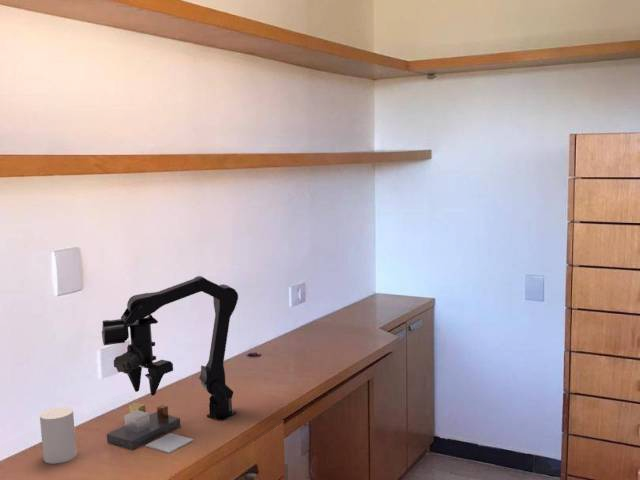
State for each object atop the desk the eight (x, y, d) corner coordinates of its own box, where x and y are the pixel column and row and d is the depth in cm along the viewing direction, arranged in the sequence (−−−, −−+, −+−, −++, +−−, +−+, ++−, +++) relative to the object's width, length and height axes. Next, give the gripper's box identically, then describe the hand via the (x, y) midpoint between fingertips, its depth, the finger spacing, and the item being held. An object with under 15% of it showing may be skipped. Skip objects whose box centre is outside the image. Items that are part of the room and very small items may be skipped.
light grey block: (137, 423, 188) (136, 409, 188) (149, 426, 186) (148, 413, 185) (125, 429, 185) (124, 415, 184) (137, 432, 182) (136, 418, 181)
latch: (136, 415, 193) (135, 402, 193) (145, 418, 191) (144, 404, 191) (130, 418, 191) (129, 405, 191) (139, 421, 189) (138, 407, 189)
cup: (80, 449, 179) (77, 406, 177) (70, 462, 170) (66, 418, 169) (50, 450, 178) (46, 407, 177) (38, 464, 170) (34, 419, 169)
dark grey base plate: (156, 419, 197) (155, 402, 196) (180, 426, 191) (179, 408, 191) (107, 442, 182) (105, 423, 181) (131, 450, 177) (130, 430, 176)
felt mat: (170, 434, 186) (170, 432, 186) (193, 440, 181) (193, 439, 181) (145, 446, 179) (145, 444, 179) (169, 453, 174) (169, 452, 174)
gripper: (96, 343, 185) (100, 396, 187) (141, 351, 175) (145, 408, 176) (127, 333, 194) (131, 385, 196) (172, 341, 184) (176, 395, 186)
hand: (145, 393), depth 188 cm, fingers open, 6 cm apart
